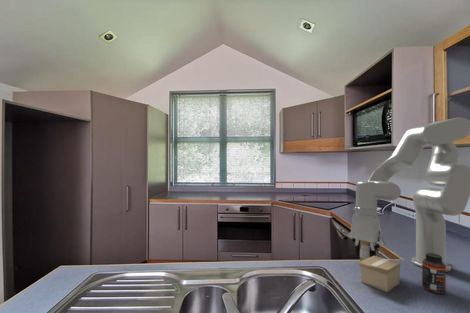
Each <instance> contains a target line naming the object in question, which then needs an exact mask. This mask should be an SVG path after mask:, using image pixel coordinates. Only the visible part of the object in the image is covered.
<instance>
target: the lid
mask: <svg viewBox="0 0 470 313" xmlns="http://www.w3.org/2000/svg"><path fill="white" fill-rule="evenodd" d="M358 265H359V266H360V267H361V266H363V267H366V268H369V269H371V270H374V271H377V272H380V273H383V274H386V275H387V273H389V272H391V271H393V270H395V269H396V268H398V267H401V263H400V262H398V261H395V260H391V259H388V258H384V257H380V256H377V255H376V256H372V257H369V258H367V259H365V260H362V261H360V260H359V261H358Z"/></svg>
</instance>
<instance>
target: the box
mask: <svg viewBox="0 0 470 313" xmlns="http://www.w3.org/2000/svg"><path fill="white" fill-rule="evenodd" d="M360 267H361V280H360V282H361V283H363V284H365V285H367V286H369V287H372V288H374V289H377V290H379V291H382V292H385V293H389V292H390V291H392V290H393V289H395V288H396V287H397V286H399V285H400V273H401V272H400V267H401V266H400V267H398V268H396V269H395V270H393V271H391V272H389V273H387V275H386V274H383V273H380V272H377V271H374V270H371V269H369V268H366V267H363V266H360Z"/></svg>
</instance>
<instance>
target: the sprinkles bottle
mask: <svg viewBox="0 0 470 313" xmlns="http://www.w3.org/2000/svg"><path fill="white" fill-rule="evenodd" d="M370 250H371V246H370V243H369V242H365V241H362V240H360V256H359V261H362V260H365V259H367V258H369V257H370Z"/></svg>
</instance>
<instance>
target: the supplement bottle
mask: <svg viewBox="0 0 470 313" xmlns="http://www.w3.org/2000/svg"><path fill="white" fill-rule="evenodd" d="M421 271H422V272H421V274H422V275H421V277H422V278H421V280H422V281H421V283H422V284H421V286H422V288H423V289H425V290H427V291H428V292H430V293H433V294H440V295H443V294H445V293H446V290H447V288H446V285H447V284H446V282H447V281H446V280H447V279H446V278H447V276H446V275H447V272H446V266H445V264H444V263H443V262H442V257H441V256H440V255H437V254H434V253H426V259H424V260H423V262H422V267H421Z"/></svg>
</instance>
